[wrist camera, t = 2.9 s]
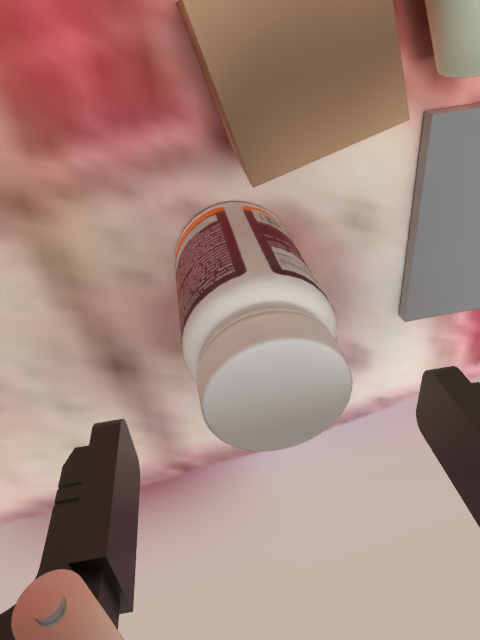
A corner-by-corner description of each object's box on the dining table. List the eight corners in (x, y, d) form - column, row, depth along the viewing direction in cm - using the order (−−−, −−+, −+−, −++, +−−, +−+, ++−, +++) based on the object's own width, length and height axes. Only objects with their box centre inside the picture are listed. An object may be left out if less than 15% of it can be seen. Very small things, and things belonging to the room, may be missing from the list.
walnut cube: (175, 2, 13) (182, 0, 10) (317, -67, 13) (379, -96, 9) (231, 146, 16) (253, 187, 12) (350, 93, 16) (409, 119, 12)
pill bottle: (183, 312, 20) (198, 475, 13) (165, 207, 17) (171, 343, 10) (290, 296, 20) (360, 446, 13) (289, 191, 17) (377, 313, 10)
